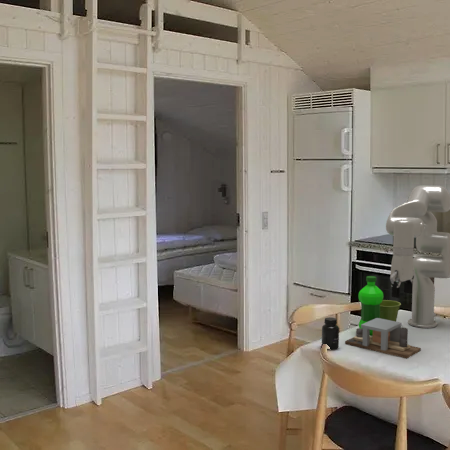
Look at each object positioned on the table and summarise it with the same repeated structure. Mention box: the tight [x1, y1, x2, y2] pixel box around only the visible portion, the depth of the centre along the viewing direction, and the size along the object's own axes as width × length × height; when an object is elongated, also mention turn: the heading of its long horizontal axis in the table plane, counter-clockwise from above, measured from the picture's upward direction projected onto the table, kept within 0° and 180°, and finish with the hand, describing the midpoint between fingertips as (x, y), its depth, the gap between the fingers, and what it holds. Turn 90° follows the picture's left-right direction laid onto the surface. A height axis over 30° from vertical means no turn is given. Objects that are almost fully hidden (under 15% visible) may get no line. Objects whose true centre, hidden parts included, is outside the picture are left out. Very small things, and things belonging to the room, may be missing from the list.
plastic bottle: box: [358, 275, 384, 337], centre depth 256 cm, size 10×10×25 cm
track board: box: [344, 337, 422, 360], centre depth 240 cm, size 12×27×1 cm, turn 48°
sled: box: [352, 327, 411, 351], centre depth 239 cm, size 6×22×8 cm, turn 47°
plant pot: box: [380, 299, 402, 322], centre depth 266 cm, size 12×12×11 cm
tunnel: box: [361, 318, 403, 351], centre depth 239 cm, size 13×11×8 cm
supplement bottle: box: [321, 316, 340, 351], centre depth 239 cm, size 7×7×12 cm
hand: (402, 295), depth 231 cm, fingers open, 9 cm apart
